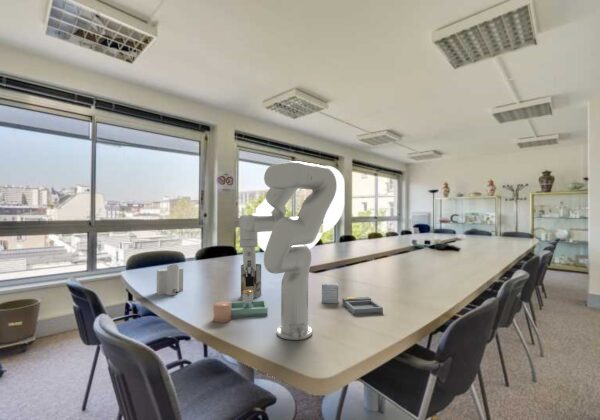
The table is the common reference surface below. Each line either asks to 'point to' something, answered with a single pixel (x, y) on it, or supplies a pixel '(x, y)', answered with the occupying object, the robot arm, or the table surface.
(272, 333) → the table surface
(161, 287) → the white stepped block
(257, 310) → the green trapezoid tray
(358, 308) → the cradle
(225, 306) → the peach rounded dome
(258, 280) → the coffee box
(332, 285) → the medicine box
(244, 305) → the cell
